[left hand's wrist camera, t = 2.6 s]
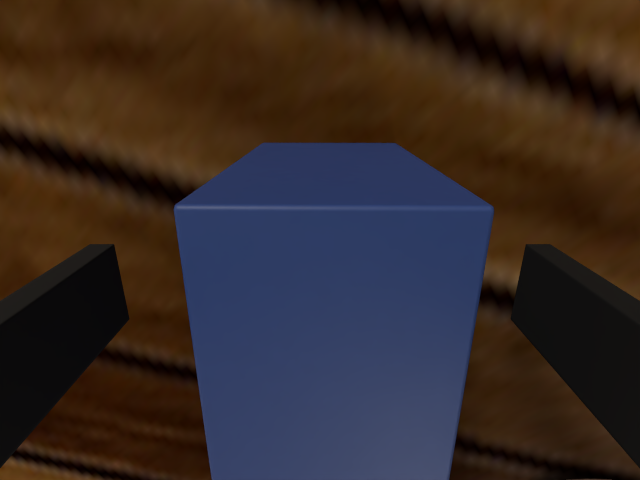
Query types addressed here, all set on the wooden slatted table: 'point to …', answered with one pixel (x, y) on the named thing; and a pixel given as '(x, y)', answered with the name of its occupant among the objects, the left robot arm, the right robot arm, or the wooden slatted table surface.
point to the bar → (332, 311)
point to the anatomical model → (588, 479)
